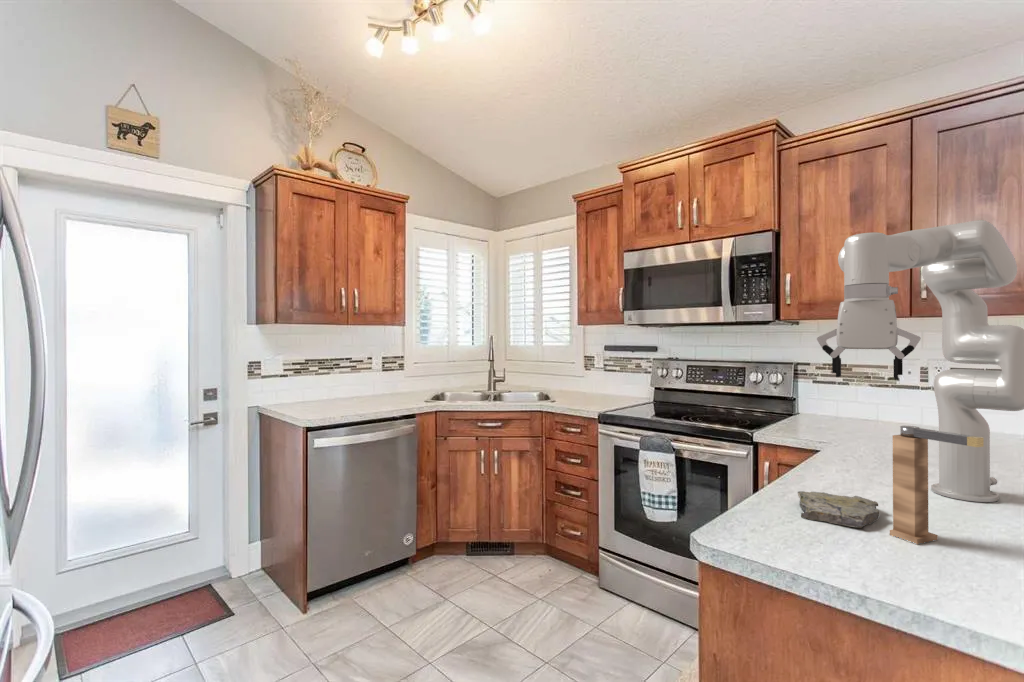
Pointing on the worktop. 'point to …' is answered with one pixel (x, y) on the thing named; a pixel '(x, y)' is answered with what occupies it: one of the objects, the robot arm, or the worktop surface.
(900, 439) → the post
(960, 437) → the latch bar
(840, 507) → the stone
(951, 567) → the worktop surface
